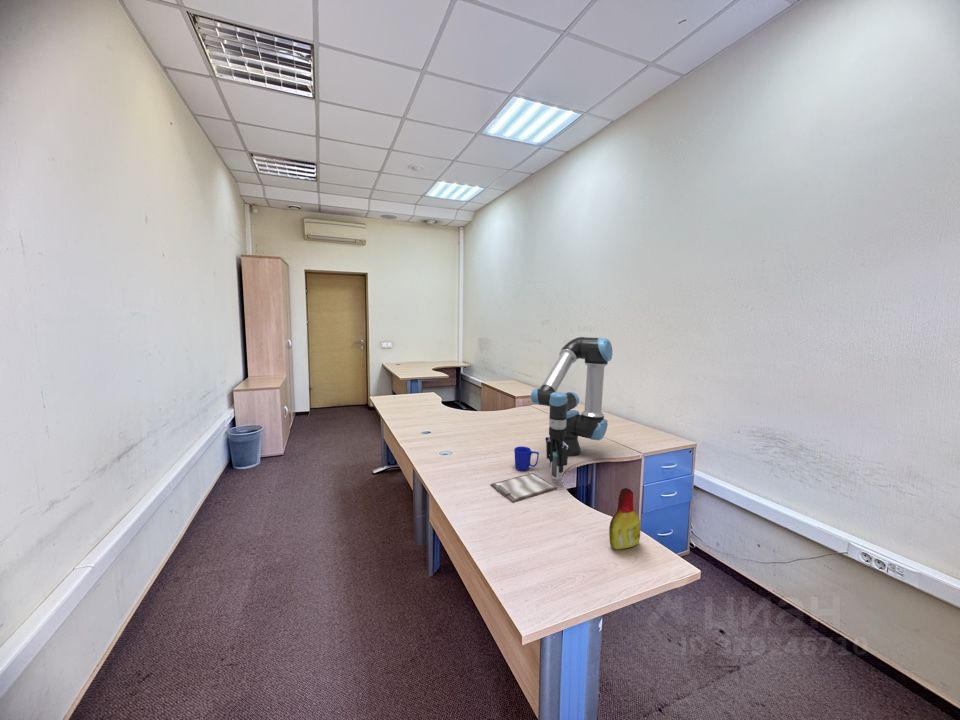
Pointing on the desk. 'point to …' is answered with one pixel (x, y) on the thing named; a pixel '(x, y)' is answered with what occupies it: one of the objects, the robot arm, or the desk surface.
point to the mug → (523, 458)
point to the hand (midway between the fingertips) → (556, 476)
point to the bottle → (624, 523)
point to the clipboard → (523, 487)
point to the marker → (554, 465)
